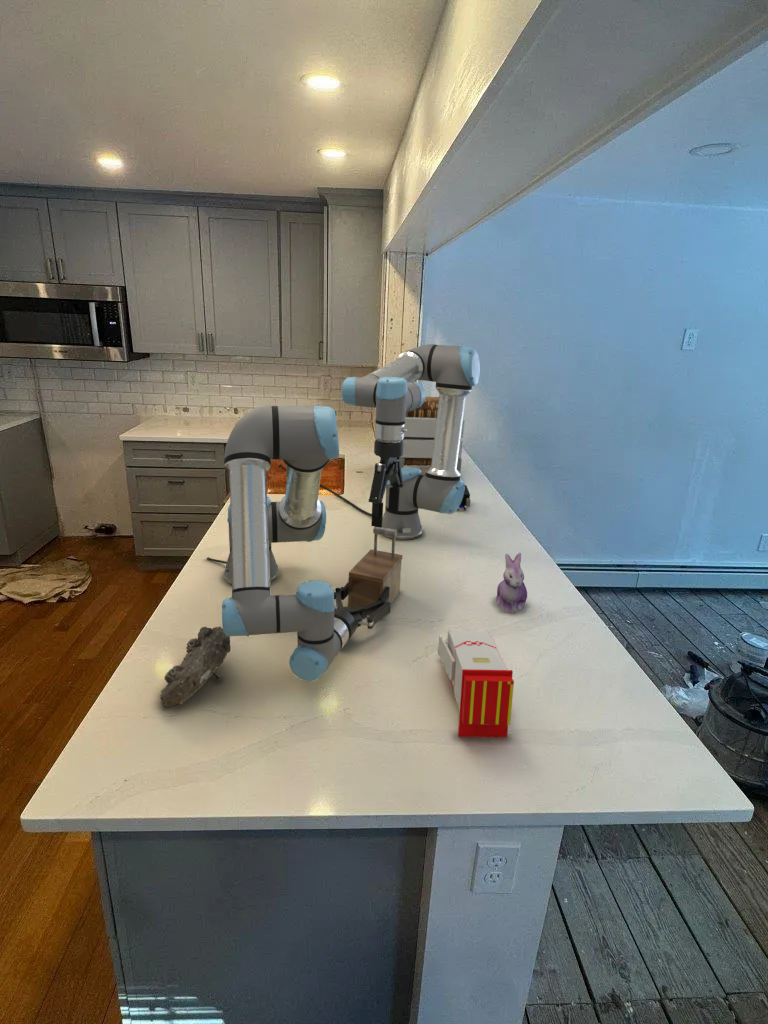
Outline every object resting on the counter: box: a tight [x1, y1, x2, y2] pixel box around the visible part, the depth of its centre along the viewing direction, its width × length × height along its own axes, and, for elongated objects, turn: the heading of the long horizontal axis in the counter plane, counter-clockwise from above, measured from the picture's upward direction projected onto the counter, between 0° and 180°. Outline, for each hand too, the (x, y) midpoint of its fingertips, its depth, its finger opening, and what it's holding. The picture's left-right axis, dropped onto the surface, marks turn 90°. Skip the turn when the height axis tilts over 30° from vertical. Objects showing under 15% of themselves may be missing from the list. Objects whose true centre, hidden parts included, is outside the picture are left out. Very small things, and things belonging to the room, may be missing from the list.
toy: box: [437, 628, 515, 738], centre depth 117 cm, size 12×13×30 cm
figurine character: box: [456, 484, 471, 512], centre depth 229 cm, size 7×8×15 cm
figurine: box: [495, 552, 528, 614], centre depth 152 cm, size 9×10×15 cm
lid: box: [348, 526, 403, 583], centre depth 149 cm, size 16×9×9 cm, turn 161°
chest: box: [347, 559, 403, 609], centre depth 152 cm, size 16×9×10 cm, turn 161°
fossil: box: [159, 626, 232, 707], centre depth 118 cm, size 22×10×15 cm
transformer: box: [401, 396, 465, 475], centre depth 268 cm, size 34×33×41 cm
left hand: (369, 587), depth 147 cm, fingers closed on chest, 9 cm apart
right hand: (385, 518), depth 151 cm, fingers open, 13 cm apart
